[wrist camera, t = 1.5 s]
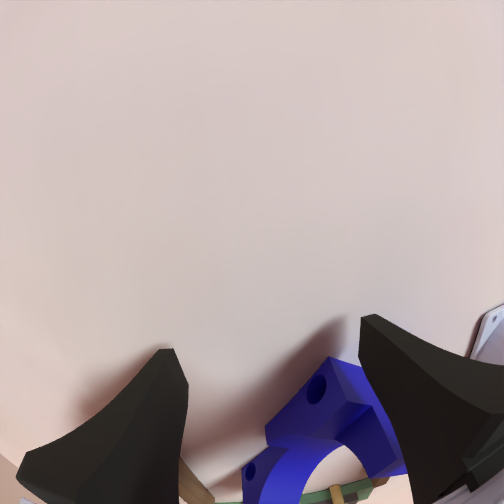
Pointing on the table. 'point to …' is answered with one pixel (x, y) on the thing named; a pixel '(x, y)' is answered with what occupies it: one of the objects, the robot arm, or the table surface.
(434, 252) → the table surface
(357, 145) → the table surface
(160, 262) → the table surface
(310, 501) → the header board
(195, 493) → the guide rails
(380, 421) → the cable clip
